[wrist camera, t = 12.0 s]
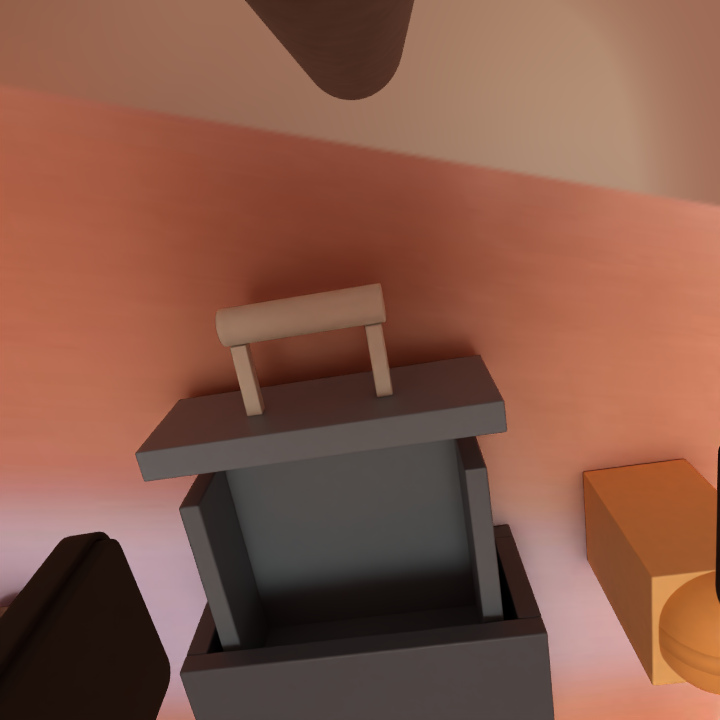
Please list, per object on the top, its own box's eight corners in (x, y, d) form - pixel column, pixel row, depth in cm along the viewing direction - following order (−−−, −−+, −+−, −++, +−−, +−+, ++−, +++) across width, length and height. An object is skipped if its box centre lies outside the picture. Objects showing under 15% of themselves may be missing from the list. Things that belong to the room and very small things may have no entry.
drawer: (151, 306, 24) (97, 341, 19) (469, 254, 23) (492, 278, 18) (245, 626, 29) (220, 714, 25) (506, 596, 28) (531, 682, 24)
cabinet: (222, 560, 29) (178, 673, 23) (508, 524, 28) (547, 633, 22) (280, 756, 34) (257, 897, 27) (530, 732, 32) (567, 874, 26)
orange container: (582, 471, 27) (677, 616, 18) (684, 458, 26) (829, 599, 18) (587, 560, 28) (675, 731, 20) (683, 549, 28) (816, 718, 20)
